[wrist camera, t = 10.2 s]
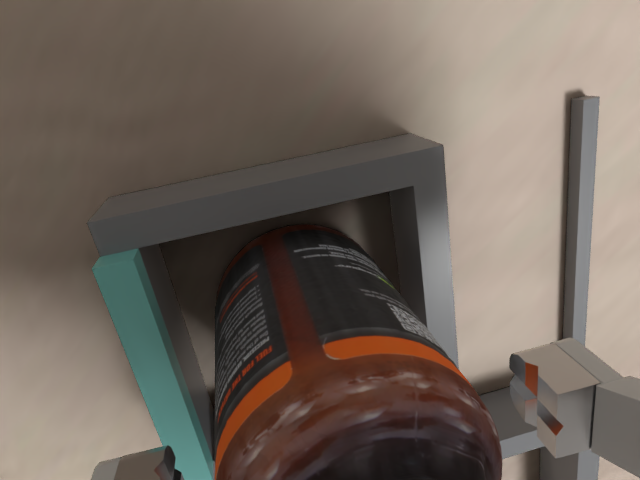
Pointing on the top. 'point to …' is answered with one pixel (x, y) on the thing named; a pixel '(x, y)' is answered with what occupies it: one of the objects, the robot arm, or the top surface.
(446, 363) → the supplement bottle
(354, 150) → the double square frame
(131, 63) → the top surface
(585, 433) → the robot arm
